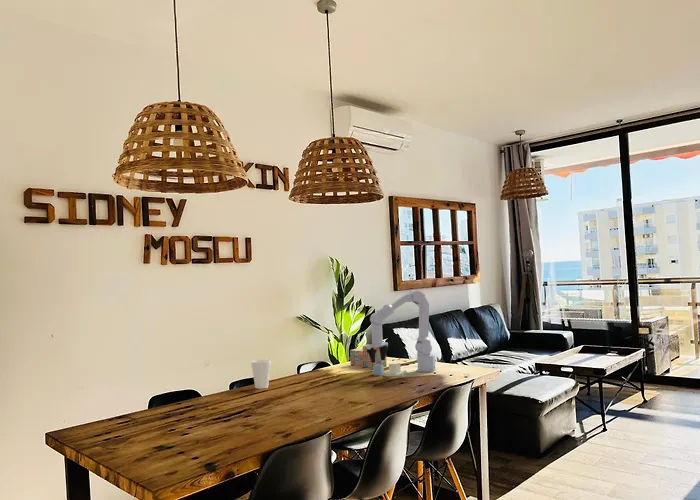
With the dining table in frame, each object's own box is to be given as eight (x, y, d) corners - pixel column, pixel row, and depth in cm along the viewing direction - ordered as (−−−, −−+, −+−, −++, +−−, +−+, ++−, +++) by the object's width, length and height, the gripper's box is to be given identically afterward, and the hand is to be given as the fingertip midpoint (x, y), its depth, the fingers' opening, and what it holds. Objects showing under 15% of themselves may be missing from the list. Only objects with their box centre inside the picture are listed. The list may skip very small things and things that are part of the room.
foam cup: (269, 384, 269) (269, 358, 269) (272, 388, 260) (272, 361, 260) (251, 386, 266) (250, 360, 266) (253, 390, 257) (252, 363, 257)
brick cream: (393, 371, 285) (392, 362, 285) (400, 372, 283) (400, 362, 283) (389, 373, 281) (388, 363, 282) (396, 373, 279) (396, 364, 279)
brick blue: (383, 374, 285) (383, 364, 285) (381, 375, 281) (381, 366, 281) (375, 373, 287) (375, 364, 287) (373, 375, 282) (373, 366, 283)
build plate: (406, 373, 285) (406, 370, 285) (402, 376, 275) (402, 374, 275) (388, 372, 288) (388, 369, 288) (383, 376, 279) (383, 373, 279)
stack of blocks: (350, 366, 314) (349, 345, 314) (355, 364, 319) (354, 343, 320) (381, 368, 302) (380, 346, 303) (387, 366, 308) (386, 345, 308)
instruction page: (384, 369, 296) (384, 369, 296) (382, 371, 292) (382, 370, 292) (373, 369, 298) (373, 369, 298) (371, 371, 294) (371, 370, 294)
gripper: (373, 337, 277) (374, 363, 276) (391, 334, 287) (392, 360, 286) (363, 336, 282) (364, 362, 281) (382, 333, 292) (383, 358, 291)
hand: (378, 361), depth 284 cm, fingers open, 7 cm apart
